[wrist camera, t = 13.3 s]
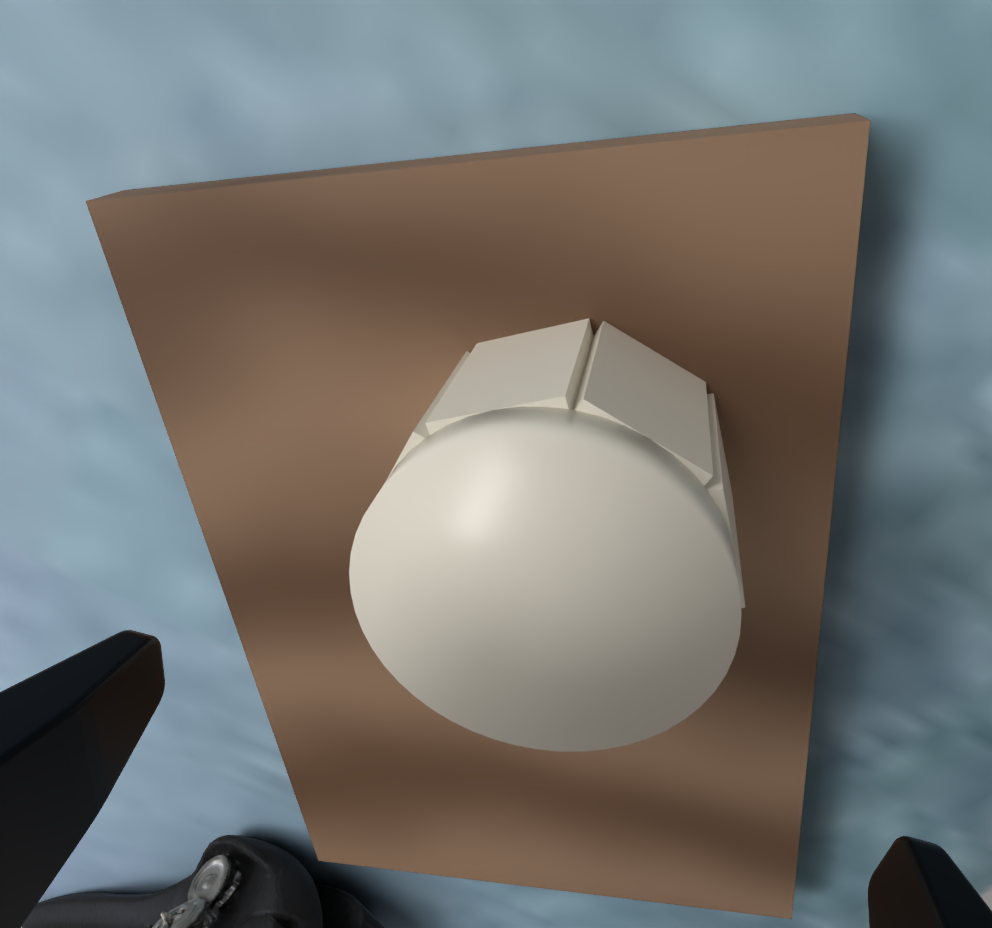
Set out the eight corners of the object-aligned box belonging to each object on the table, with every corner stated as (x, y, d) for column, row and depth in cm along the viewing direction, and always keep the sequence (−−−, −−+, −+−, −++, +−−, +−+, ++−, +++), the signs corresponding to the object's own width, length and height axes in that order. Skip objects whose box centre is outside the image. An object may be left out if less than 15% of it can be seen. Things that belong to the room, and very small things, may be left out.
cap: (791, 433, 14) (833, 581, 10) (616, 631, 17) (599, 801, 14) (513, 266, 14) (450, 356, 10) (383, 499, 17) (297, 637, 13)
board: (786, 877, 22) (791, 918, 21) (333, 826, 25) (318, 860, 24) (855, 113, 13) (870, 120, 12) (123, 190, 16) (85, 201, 15)
